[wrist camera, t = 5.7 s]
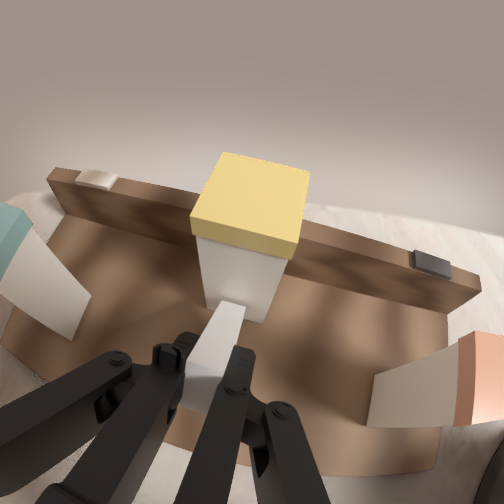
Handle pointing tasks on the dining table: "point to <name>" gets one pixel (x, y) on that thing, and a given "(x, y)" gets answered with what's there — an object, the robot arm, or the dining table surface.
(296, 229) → the middle button
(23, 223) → the button
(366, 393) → the button console
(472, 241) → the dining table surface
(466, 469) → the dining table surface
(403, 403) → the button
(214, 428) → the robot arm
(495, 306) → the dining table surface
